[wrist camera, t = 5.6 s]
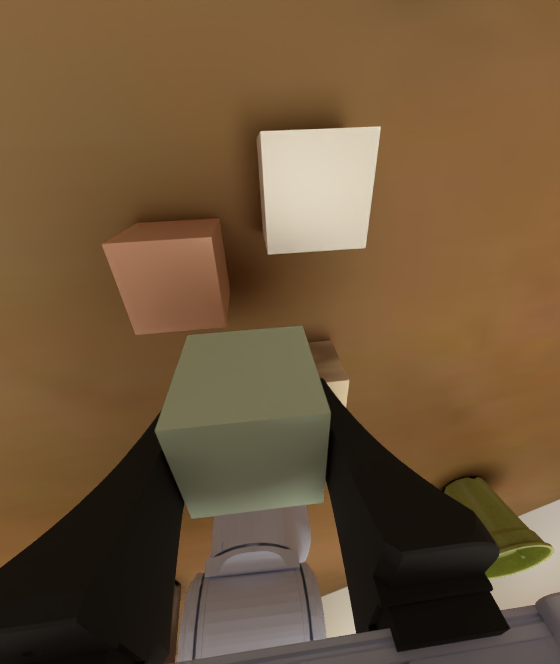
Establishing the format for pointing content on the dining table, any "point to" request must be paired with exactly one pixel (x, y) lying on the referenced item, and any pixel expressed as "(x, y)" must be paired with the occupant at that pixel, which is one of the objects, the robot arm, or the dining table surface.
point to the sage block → (246, 422)
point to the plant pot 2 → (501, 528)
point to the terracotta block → (171, 275)
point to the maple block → (330, 368)
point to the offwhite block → (316, 187)
